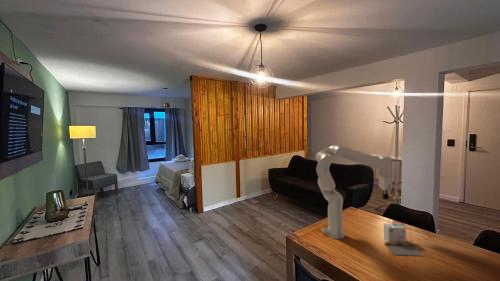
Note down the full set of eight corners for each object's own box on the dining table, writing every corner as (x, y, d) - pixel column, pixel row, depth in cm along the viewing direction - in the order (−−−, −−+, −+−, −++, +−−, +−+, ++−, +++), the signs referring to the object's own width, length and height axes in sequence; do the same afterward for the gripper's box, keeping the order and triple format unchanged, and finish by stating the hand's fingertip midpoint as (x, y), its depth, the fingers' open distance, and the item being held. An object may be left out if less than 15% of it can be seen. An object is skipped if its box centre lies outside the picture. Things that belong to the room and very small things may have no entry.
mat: (393, 255, 127) (393, 254, 127) (386, 246, 136) (386, 245, 136) (423, 256, 124) (423, 255, 124) (413, 247, 134) (413, 246, 134)
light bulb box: (399, 238, 145) (399, 222, 144) (406, 243, 138) (406, 227, 137) (383, 238, 146) (383, 222, 145) (388, 243, 139) (388, 227, 138)
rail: (385, 245, 137) (385, 243, 137) (384, 244, 138) (384, 242, 138) (413, 246, 134) (413, 244, 134) (412, 245, 136) (411, 243, 136)
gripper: (375, 171, 159) (375, 195, 160) (384, 176, 144) (384, 202, 146) (386, 171, 158) (386, 195, 159) (396, 176, 143) (396, 202, 144)
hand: (385, 198), depth 152 cm, fingers closed
